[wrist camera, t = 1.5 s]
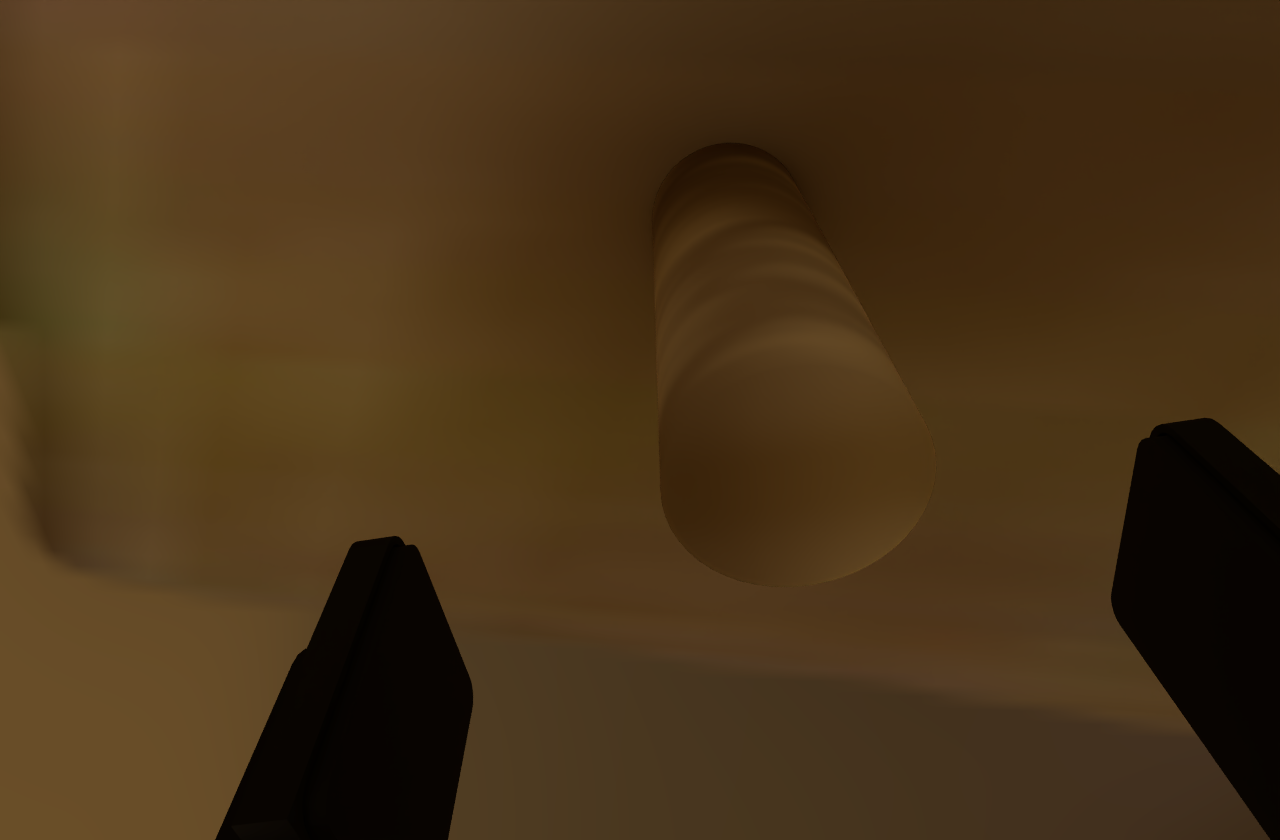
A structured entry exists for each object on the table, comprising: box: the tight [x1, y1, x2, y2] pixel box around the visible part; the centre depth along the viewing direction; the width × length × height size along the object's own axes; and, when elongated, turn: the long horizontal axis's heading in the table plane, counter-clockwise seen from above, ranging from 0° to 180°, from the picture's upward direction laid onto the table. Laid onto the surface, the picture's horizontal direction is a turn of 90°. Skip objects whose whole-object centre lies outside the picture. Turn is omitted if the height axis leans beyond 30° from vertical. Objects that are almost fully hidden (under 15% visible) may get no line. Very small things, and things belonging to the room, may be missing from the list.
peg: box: [652, 143, 936, 587], centre depth 17 cm, size 4×4×12 cm
